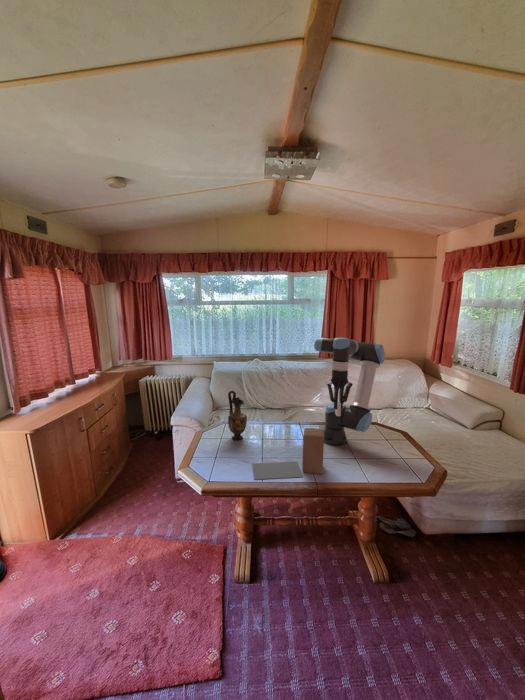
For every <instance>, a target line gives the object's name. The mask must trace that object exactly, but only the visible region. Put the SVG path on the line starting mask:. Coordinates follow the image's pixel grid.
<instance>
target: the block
mask: <svg viewBox="0 0 525 700" xmlns="http://www.w3.org/2000/svg"><path fill="white" fill-rule="evenodd" d="M302 440H303V441H302V462H301V463H302V467H301V471H302V473H303V472H304V473H308V474H316V475H322V474H323V473H324V471H323V470H324V469H323V467H324V445H325V442H324V428H323V429H322V428H311V427H305V428H304V430H303V437H302Z"/></svg>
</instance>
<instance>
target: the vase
mask: <svg viewBox="0 0 525 700" xmlns="http://www.w3.org/2000/svg"><path fill="white" fill-rule="evenodd" d="M231 394H232V395H231ZM227 395H228V396H227V397H228V404H229V405H228V406H229V411H228V412H229V414H228V418H227V424H228V429H229V431H230V432H231V433H232V434H233V436H231V440H232V439H233V440H232V441H234V442H239V440H240V441H242V440H243V439H244V437H243V436H242V433H244V432H245V430H246V428H247V422H248V416H247V415H246V414H245V413H244V412H241V406H242V405H244V404H245V401H244V400H242V399H241V398H240V397H237V393H236V391H235V390H231V391H229V392H228V394H227ZM233 405H234V408H233ZM233 410H234V411H233Z"/></svg>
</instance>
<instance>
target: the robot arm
mask: <svg viewBox="0 0 525 700" xmlns="http://www.w3.org/2000/svg"><path fill="white" fill-rule="evenodd" d="M313 347H314V350H315V352H320V353H328V354H332V365H331V369H332V370H331V379H330V381H329V382H326V383H325V385H326V387H327V389H328V396H329V400H330V402H331V403H327V404H326V406H325V411H324V413H325V417H324V428H323V430H324V444H325V443H326V444H328V445H330V446H342V445H345V444H346V443H347V435H346V430H345V428H346V429H350V430H353V431H357V432H360V433H365V432H367V431H368V430H369V429H370V427H371V424H372V421H373V413H371V408H369V404H370V401H371V400H370V399H371V395H372V389H373V385H374V381H375V376H376V372H377V369H378V368H380V365H381V364H384V362H385V355H386V354H385V353H386V352H385V348H384V345H383V344H380V343H376V342H375V343H371V342H363V341H360V342H359V341H356V340H355V339H350V338H347V337H334V338H327V337H326V338H325V337H317V338H316V339H315V340H314V345H313ZM349 360H354V361H359V364H360V365H361V367H360V371H359V376H358V380H357V385H356V389H355V394H354V398H353V402H352V403H351V404H349V407H346V404H345V403H346V402H348V399H349V398H348V397H349V394H350V391H351V388H352V387H353V383H352V382H351V381H350V382H349V379H348V377H349V370H348V369H349ZM332 387H333V388H334V392H333V388H332Z"/></svg>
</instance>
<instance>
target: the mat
mask: <svg viewBox="0 0 525 700" xmlns="http://www.w3.org/2000/svg"><path fill="white" fill-rule="evenodd" d="M251 465H252V472H253V473H252V474H253V479H254V481H258V480H276V479H279V480H280V479H295V478H297V479H298V478H304V475H303V471H302V468H301V467H300V465H299V462H298V461H296V460H295V461H277V462H256V463H255V462H254V463H252V464H251Z"/></svg>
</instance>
